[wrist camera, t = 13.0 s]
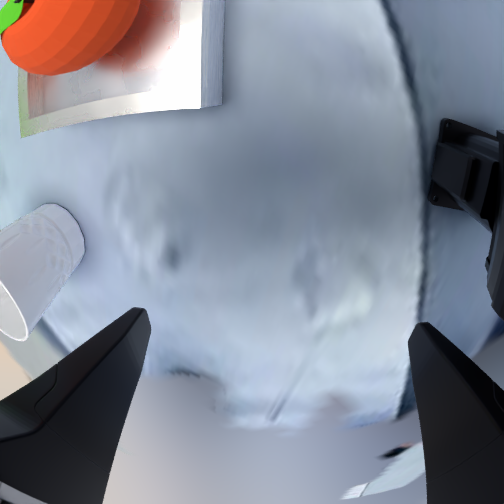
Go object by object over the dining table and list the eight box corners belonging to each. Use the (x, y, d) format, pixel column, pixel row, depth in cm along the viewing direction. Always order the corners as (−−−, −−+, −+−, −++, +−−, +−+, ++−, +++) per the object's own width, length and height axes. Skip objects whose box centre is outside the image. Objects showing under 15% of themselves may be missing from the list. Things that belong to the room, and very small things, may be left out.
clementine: (59, 101, 12) (-32, 126, 6) (44, 17, 9) (-37, 14, 3) (175, 42, 11) (96, 11, 5) (152, -48, 7) (86, -99, 1)
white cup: (23, 227, 22) (-39, 283, 13) (50, 178, 19) (-34, 234, 10) (69, 282, 25) (18, 350, 16) (105, 244, 22) (38, 324, 13)
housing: (227, -49, 10) (211, -89, 5) (222, 104, 16) (200, 107, 11) (75, -11, 10) (31, -23, 6) (70, 122, 16) (21, 138, 12)
